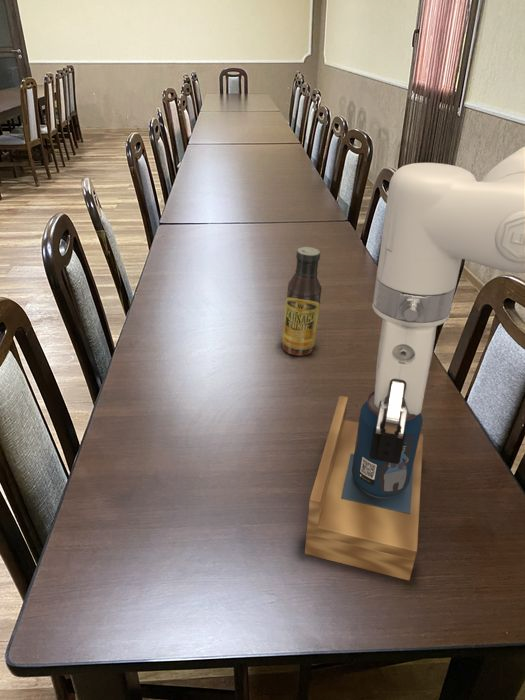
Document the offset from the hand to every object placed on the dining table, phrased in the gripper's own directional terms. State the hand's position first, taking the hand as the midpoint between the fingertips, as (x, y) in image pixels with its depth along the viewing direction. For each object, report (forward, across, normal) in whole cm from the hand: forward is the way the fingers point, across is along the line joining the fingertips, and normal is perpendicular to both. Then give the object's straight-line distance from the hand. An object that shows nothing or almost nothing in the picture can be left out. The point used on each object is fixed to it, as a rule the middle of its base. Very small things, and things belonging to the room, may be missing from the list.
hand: (388, 431), depth 62 cm
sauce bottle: (+13, +36, +18) cm, 42 cm away
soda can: (+8, 0, 0) cm, 8 cm away
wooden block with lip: (+13, +1, +1) cm, 13 cm away
